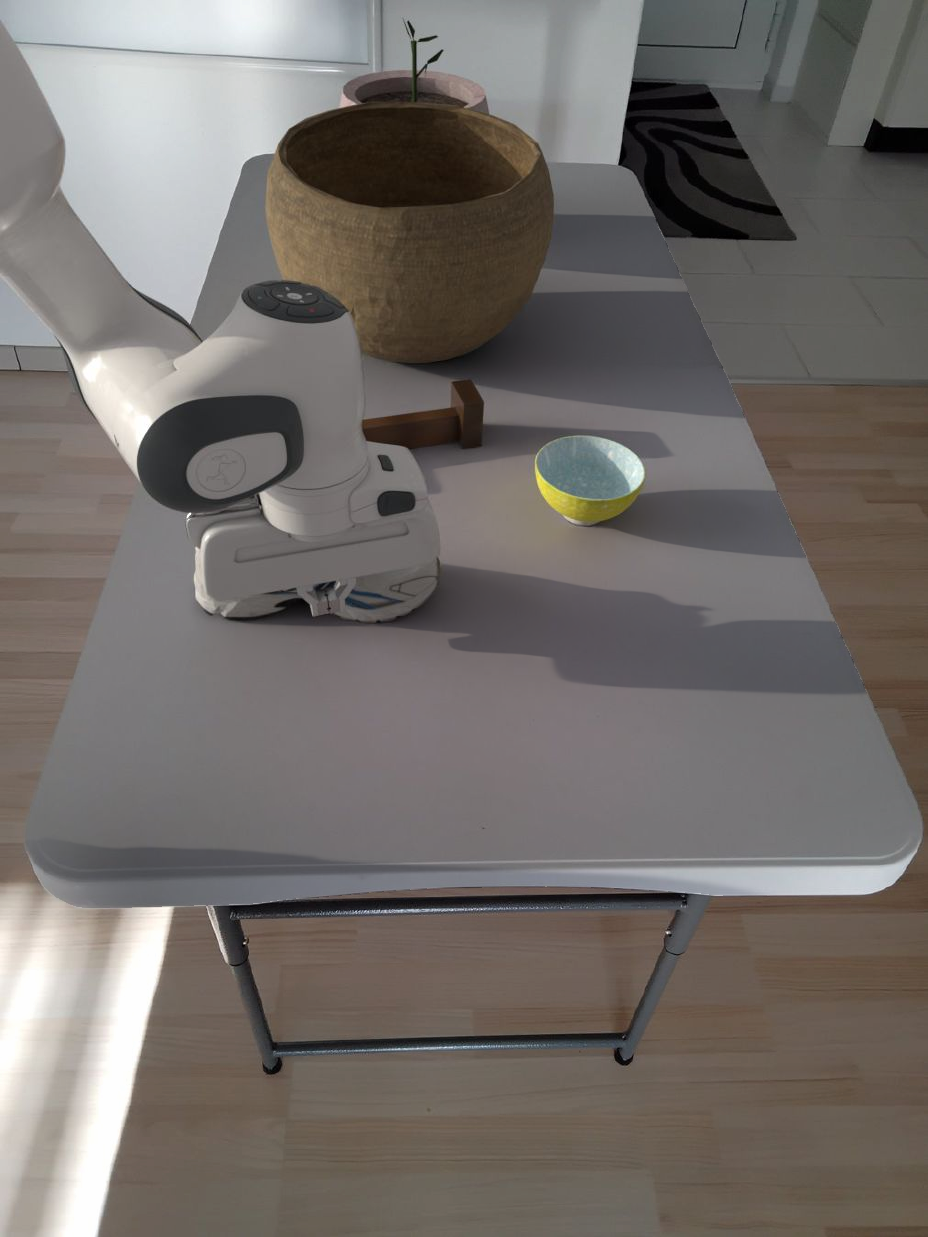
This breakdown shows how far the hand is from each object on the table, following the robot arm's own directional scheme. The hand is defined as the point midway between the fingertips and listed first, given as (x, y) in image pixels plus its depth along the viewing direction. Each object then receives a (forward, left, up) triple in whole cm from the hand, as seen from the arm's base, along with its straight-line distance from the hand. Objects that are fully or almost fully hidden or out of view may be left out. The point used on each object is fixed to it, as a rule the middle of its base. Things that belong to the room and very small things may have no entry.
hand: (327, 609), depth 83 cm
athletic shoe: (0, +5, -4) cm, 6 cm away
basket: (+22, +53, -4) cm, 57 cm away
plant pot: (+31, +85, -4) cm, 90 cm away
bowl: (+30, +11, -4) cm, 32 cm away
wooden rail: (+8, +28, -3) cm, 29 cm away
